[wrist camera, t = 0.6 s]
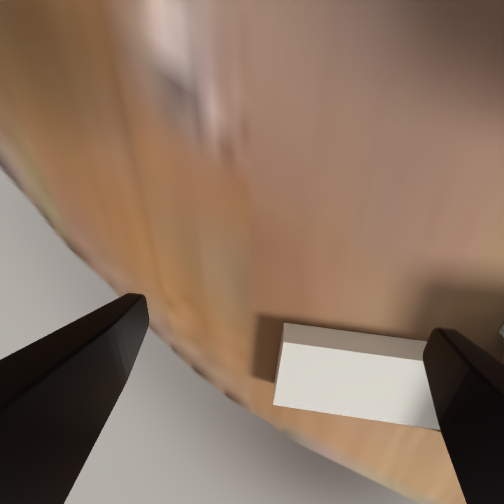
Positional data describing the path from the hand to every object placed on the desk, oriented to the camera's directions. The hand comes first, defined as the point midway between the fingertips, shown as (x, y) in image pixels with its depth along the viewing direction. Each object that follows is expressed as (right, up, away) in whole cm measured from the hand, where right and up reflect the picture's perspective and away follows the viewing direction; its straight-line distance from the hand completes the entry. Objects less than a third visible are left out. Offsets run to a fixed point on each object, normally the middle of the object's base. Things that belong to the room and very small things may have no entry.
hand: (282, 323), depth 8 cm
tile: (+8, -7, +17) cm, 20 cm away
